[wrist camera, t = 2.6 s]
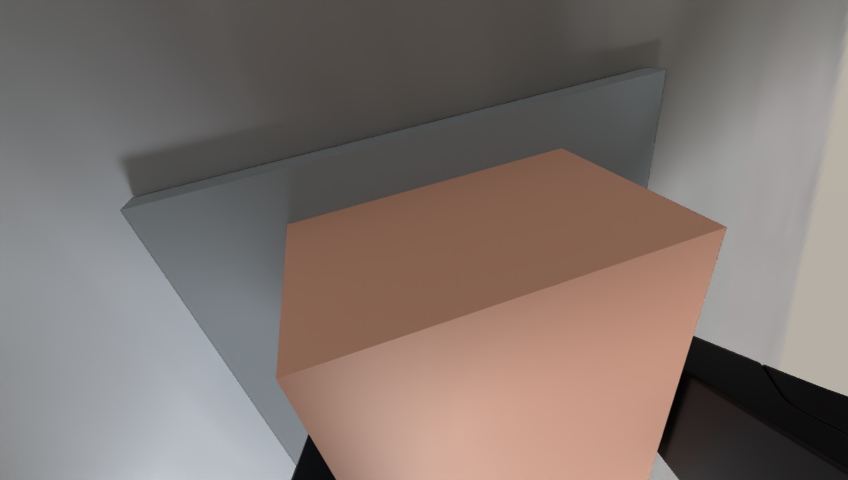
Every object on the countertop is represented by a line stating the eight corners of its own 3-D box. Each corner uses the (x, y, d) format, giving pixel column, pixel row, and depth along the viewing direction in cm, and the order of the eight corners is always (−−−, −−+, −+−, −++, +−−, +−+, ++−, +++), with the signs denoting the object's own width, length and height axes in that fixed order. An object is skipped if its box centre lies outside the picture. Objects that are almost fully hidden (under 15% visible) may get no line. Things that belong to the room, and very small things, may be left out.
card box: (386, 456, 11) (416, 613, 8) (287, 224, 7) (276, 379, 4) (554, 392, 12) (637, 514, 9) (561, 148, 8) (726, 226, 5)
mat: (368, 557, 15) (370, 573, 14) (132, 198, 6) (120, 210, 6) (591, 463, 16) (599, 475, 16) (646, 67, 8) (666, 70, 7)
